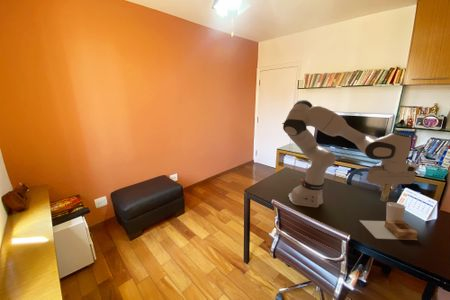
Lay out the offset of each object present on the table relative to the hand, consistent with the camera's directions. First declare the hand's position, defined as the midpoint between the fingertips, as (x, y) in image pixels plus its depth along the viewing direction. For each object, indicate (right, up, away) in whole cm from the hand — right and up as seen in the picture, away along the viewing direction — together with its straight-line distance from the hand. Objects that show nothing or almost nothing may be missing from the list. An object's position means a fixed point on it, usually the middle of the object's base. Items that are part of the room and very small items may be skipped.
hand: (386, 190), depth 97 cm
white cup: (+14, -20, +12) cm, 27 cm away
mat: (+5, -23, +6) cm, 24 cm away
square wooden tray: (+10, -23, +3) cm, 25 cm away
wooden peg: (0, -5, +2) cm, 6 cm away
